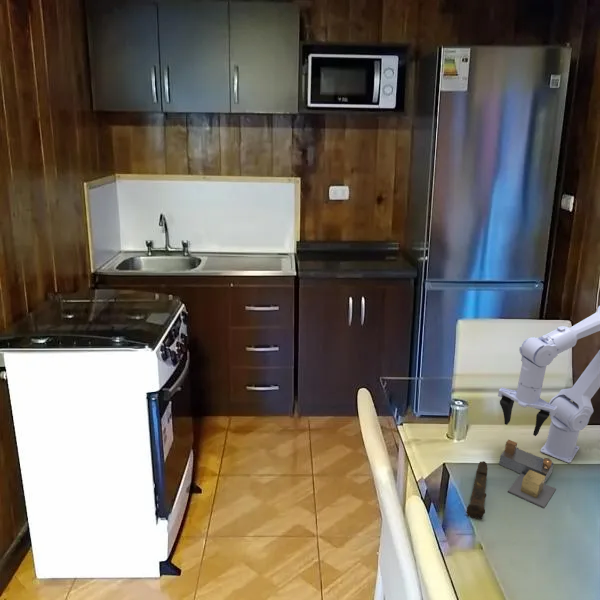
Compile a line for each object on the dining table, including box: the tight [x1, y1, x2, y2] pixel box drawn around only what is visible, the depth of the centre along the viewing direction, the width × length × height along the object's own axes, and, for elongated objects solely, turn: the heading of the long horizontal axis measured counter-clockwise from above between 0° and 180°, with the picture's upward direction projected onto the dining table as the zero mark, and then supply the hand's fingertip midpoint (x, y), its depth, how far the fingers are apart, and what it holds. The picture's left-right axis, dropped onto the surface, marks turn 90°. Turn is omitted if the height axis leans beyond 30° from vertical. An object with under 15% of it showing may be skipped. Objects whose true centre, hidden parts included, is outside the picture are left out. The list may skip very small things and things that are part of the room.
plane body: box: [498, 439, 555, 484], centre depth 158 cm, size 6×12×6 cm, turn 51°
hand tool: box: [465, 460, 488, 520], centre depth 148 cm, size 19×4×5 cm, turn 157°
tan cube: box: [521, 470, 546, 498], centre depth 150 cm, size 4×4×4 cm
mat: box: [507, 473, 557, 509], centre depth 151 cm, size 9×9×1 cm
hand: (521, 428), depth 159 cm, fingers open, 7 cm apart
